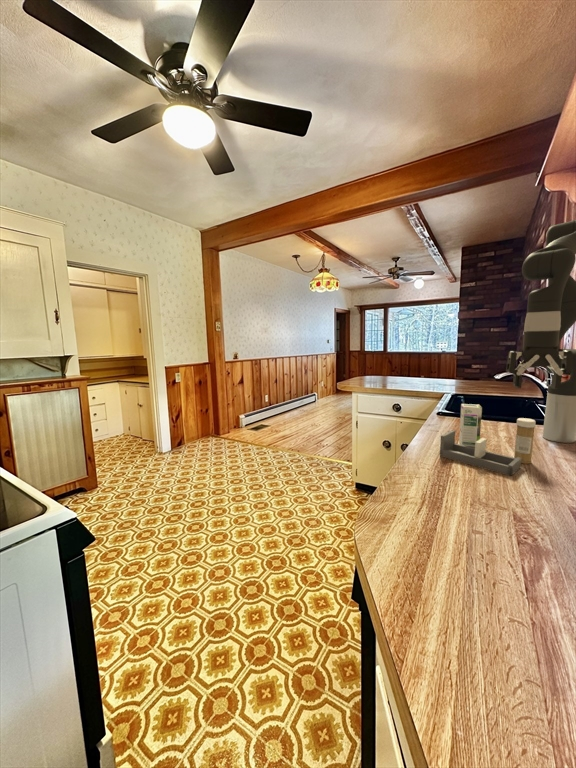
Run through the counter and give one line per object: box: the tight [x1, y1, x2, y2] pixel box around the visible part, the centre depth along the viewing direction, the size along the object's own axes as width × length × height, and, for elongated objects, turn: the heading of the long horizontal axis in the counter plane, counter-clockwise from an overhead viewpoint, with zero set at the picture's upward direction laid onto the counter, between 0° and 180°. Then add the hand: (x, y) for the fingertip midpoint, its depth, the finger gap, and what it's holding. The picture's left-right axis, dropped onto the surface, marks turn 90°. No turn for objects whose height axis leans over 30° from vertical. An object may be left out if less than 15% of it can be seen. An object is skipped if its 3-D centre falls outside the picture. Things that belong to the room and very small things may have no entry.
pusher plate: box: [474, 437, 488, 458], centre depth 97 cm, size 6×1×5 cm, turn 130°
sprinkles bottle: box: [513, 417, 536, 464], centre depth 97 cm, size 5×5×13 cm
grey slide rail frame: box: [439, 429, 522, 477], centre depth 98 cm, size 8×20×7 cm, turn 40°
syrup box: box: [458, 403, 483, 448], centre depth 112 cm, size 6×6×14 cm
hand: (535, 388), depth 87 cm, fingers open, 8 cm apart
